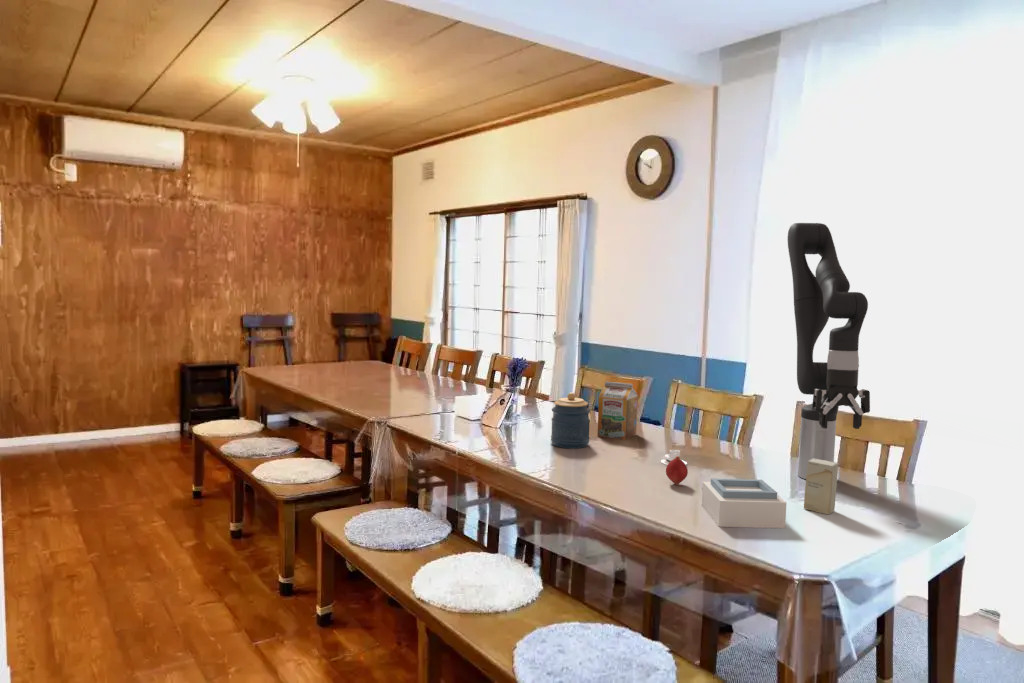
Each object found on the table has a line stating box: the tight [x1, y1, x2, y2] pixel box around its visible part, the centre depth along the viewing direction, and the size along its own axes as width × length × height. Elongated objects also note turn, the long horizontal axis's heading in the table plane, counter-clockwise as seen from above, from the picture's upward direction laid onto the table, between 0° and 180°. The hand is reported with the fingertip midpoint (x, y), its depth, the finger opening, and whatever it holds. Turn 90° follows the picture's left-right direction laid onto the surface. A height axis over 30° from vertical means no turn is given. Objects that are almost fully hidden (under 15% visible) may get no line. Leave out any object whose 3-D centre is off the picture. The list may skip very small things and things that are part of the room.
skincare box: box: [803, 458, 840, 515], centre depth 170 cm, size 6×4×12 cm
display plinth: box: [701, 478, 788, 529], centre depth 165 cm, size 15×15×8 cm
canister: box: [550, 392, 591, 449], centre depth 233 cm, size 13×13×18 cm
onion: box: [665, 456, 689, 485], centre depth 190 cm, size 6×6×8 cm
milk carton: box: [597, 381, 639, 441], centre depth 249 cm, size 11×11×19 cm
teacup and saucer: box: [660, 449, 688, 466], centre depth 213 cm, size 9×8×4 cm
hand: (840, 428), depth 184 cm, fingers open, 8 cm apart
